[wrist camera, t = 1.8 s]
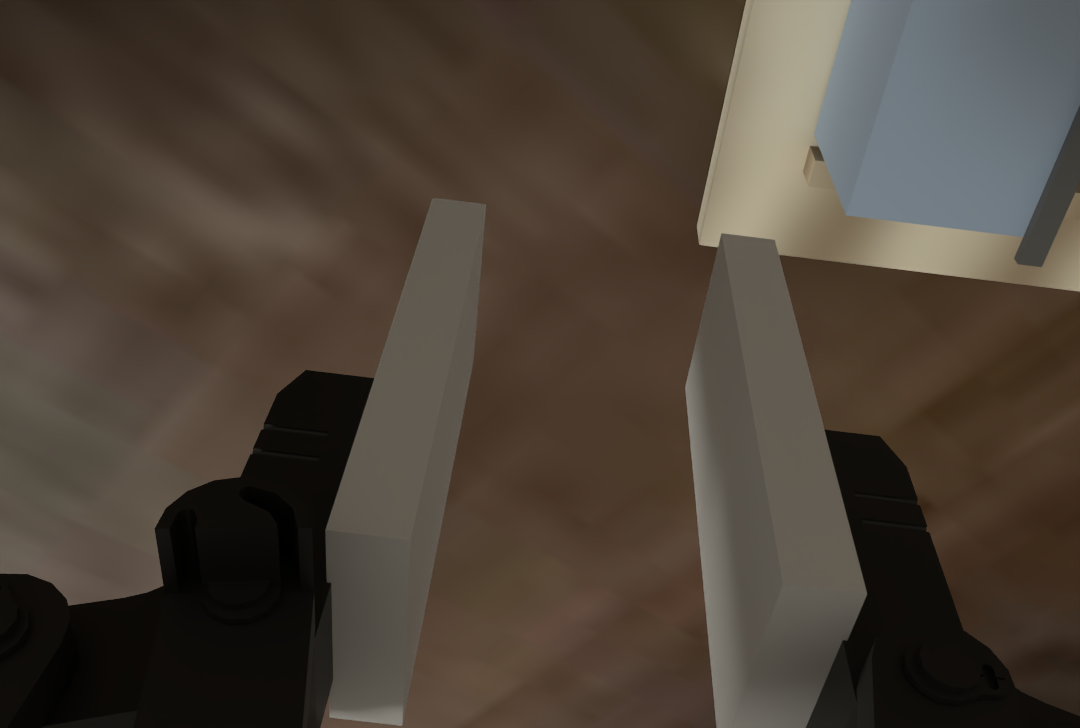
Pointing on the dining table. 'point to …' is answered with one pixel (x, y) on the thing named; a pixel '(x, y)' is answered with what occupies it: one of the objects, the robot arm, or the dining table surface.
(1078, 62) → the carriage
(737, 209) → the board
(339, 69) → the dining table surface
